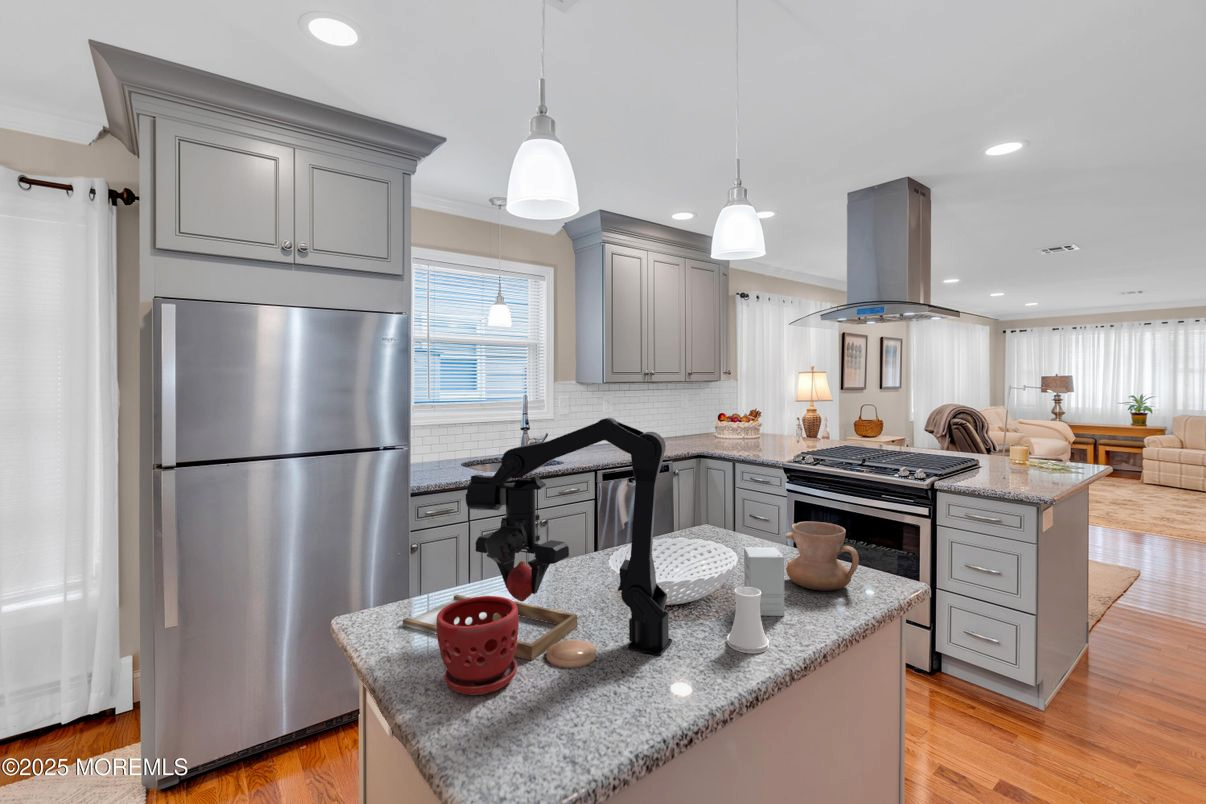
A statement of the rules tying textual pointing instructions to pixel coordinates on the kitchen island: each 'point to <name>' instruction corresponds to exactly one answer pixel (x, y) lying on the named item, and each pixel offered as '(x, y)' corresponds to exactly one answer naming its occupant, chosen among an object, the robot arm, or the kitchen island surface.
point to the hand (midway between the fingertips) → (521, 590)
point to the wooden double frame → (523, 649)
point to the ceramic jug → (820, 556)
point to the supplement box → (766, 578)
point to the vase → (748, 623)
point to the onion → (520, 582)
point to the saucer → (571, 653)
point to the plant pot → (478, 644)
